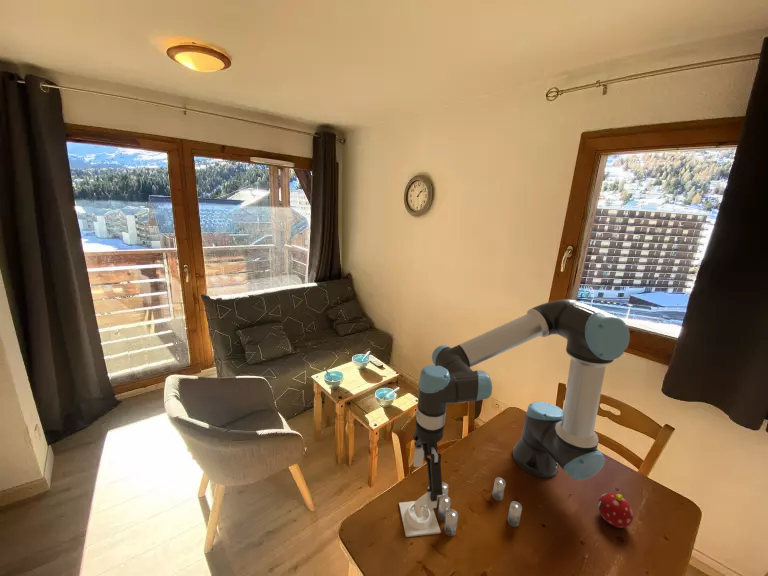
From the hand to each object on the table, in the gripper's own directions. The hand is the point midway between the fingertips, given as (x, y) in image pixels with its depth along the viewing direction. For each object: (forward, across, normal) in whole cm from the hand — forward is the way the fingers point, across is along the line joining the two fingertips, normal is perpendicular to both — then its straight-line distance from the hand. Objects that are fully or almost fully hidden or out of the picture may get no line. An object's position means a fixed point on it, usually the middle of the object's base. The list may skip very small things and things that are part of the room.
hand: (424, 484), depth 91 cm
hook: (+12, 0, -1) cm, 12 cm away
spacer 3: (+12, +4, +7) cm, 15 cm away
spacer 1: (+12, -4, +8) cm, 15 cm away
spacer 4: (+13, -4, +27) cm, 30 cm away
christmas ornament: (+14, +7, +58) cm, 60 cm away
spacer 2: (+12, 0, +7) cm, 14 cm away
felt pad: (+12, 0, -1) cm, 12 cm away
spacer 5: (+13, +4, +27) cm, 30 cm away
